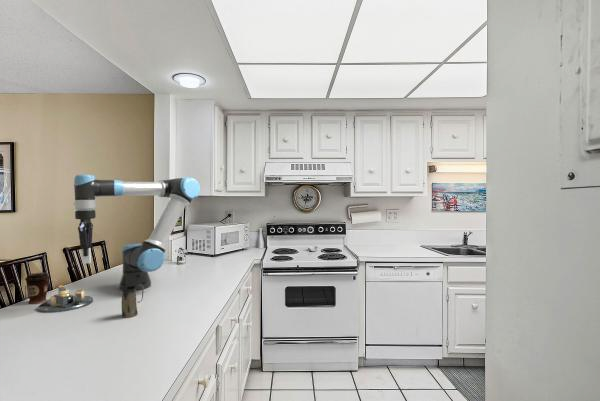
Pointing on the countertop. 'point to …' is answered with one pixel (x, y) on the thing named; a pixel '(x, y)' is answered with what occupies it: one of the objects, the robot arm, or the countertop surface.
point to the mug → (129, 301)
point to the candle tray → (69, 306)
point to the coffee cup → (37, 287)
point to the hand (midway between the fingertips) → (86, 263)
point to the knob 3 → (79, 296)
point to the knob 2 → (58, 300)
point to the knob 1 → (62, 290)
